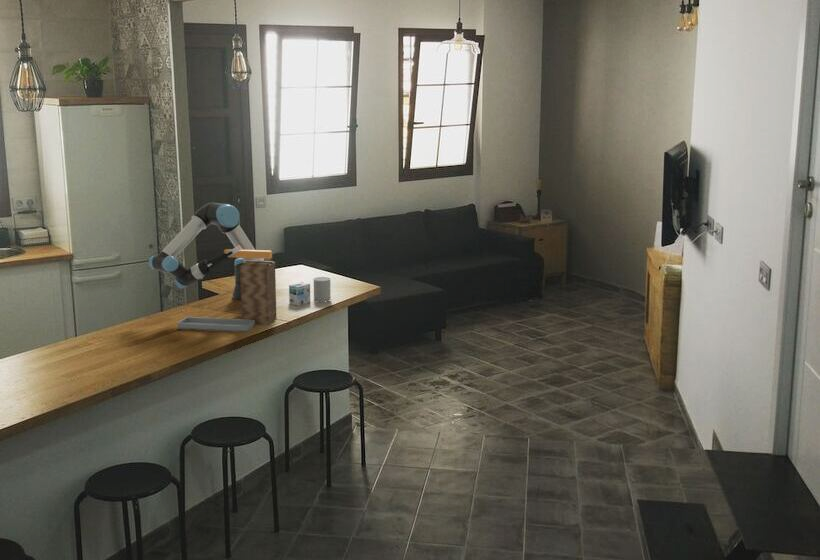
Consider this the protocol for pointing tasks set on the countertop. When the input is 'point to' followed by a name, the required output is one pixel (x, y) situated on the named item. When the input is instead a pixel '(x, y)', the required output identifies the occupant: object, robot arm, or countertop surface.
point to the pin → (251, 254)
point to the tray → (216, 324)
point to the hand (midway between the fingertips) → (239, 248)
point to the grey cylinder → (322, 289)
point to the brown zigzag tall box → (258, 291)
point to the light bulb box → (299, 293)
